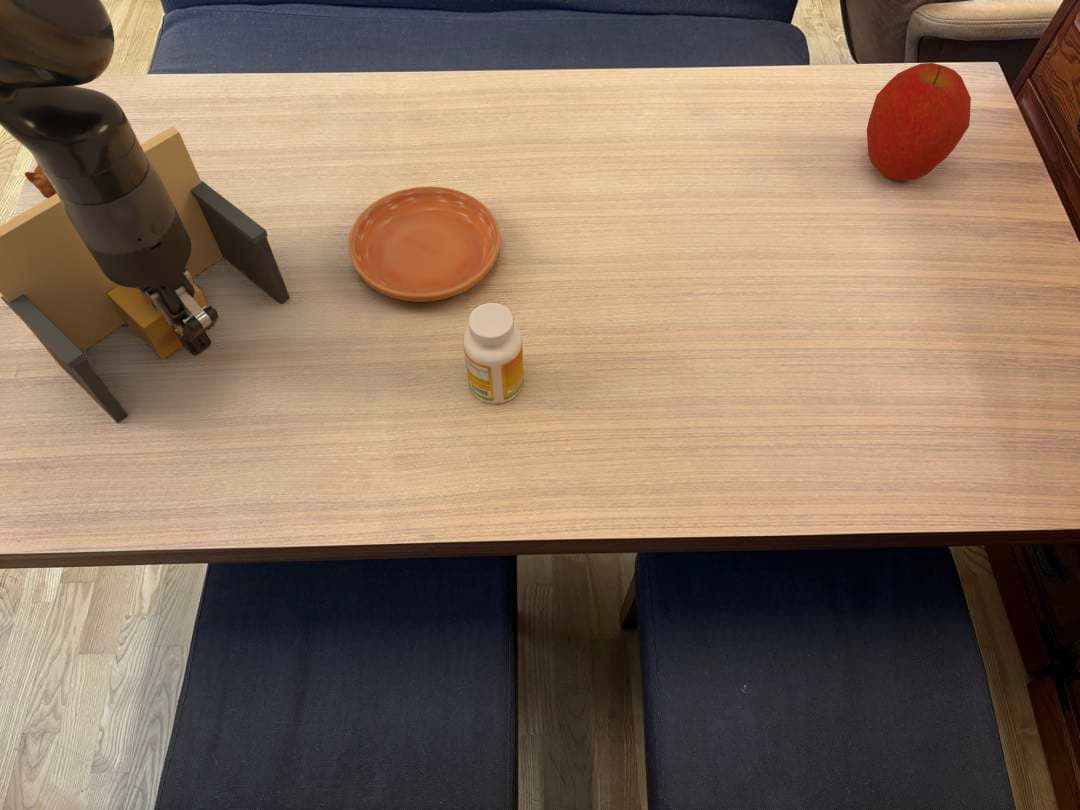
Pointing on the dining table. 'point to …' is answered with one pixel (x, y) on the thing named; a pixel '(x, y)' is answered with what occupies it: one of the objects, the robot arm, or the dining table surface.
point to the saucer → (424, 243)
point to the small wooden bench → (81, 286)
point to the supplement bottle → (493, 354)
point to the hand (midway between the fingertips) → (199, 347)
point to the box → (147, 319)
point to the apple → (917, 121)
